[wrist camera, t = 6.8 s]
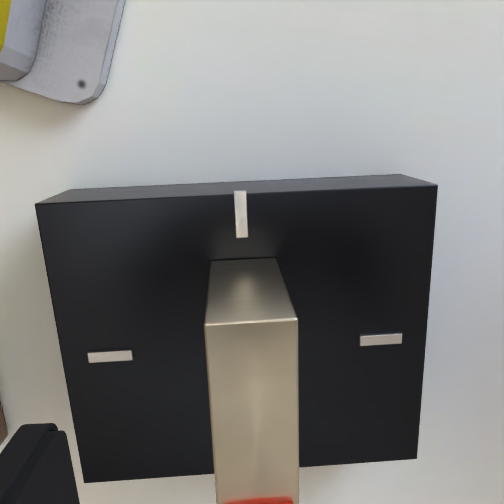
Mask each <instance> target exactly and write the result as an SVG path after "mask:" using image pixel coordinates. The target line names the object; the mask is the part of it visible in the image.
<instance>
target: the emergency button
mask: <svg viewBox="0 0 504 504" xmlns="http://www.w3.org/2000/svg"><path fill="white" fill-rule="evenodd" d="M124 3H125V0H0V82H3V83H6V84H9V85H12V86H15V87H18V88H21V89H24V90H27V91H30V92H33V93H36V94H39V95H42V96H45V97H48V98H51V99H54V100H57V101H61V102H66V103H75V104H85V103H88V102H90V101H92V100H95V99H97V98H98V97H99V95H100V94H101V92H102V90H103V89H104V87H105V85H106V81H107V77H108V72H109V68H110V64H111V59H112V55H113V50H114V46H115V42H116V37H117V33H118V29H119V24H120V20H121V16H122V11H123V7H124Z"/></svg>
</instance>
